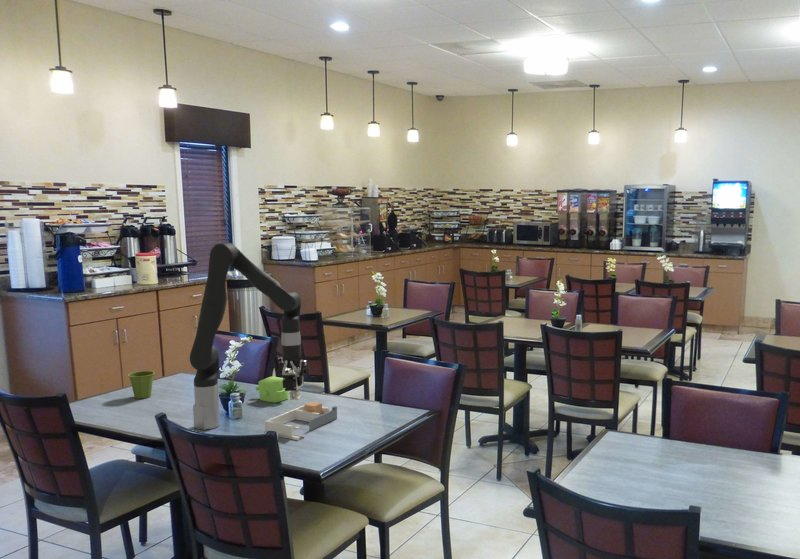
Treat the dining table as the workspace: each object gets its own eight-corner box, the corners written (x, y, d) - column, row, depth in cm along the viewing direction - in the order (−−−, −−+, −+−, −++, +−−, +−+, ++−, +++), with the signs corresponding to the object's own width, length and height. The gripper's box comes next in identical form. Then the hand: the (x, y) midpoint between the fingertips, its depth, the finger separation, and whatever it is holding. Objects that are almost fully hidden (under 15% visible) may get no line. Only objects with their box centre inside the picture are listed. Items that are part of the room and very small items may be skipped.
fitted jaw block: (314, 420, 277) (314, 406, 277) (305, 418, 280) (304, 404, 279) (322, 417, 281) (321, 403, 281) (312, 415, 284) (312, 401, 283)
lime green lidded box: (250, 400, 315) (248, 380, 313) (266, 394, 322) (264, 374, 321) (277, 405, 304) (276, 385, 303) (293, 399, 312) (291, 379, 311)
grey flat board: (311, 430, 265) (310, 417, 264) (308, 430, 266) (308, 417, 265) (337, 418, 279) (337, 406, 279) (335, 418, 280) (334, 406, 279)
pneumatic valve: (306, 395, 276) (303, 365, 275) (296, 403, 265) (293, 373, 263) (293, 395, 277) (290, 366, 276) (282, 403, 266) (279, 373, 264)
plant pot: (161, 394, 326) (159, 371, 324) (146, 401, 314) (145, 377, 313) (139, 393, 328) (137, 370, 327) (123, 400, 317) (122, 376, 316)
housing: (298, 440, 258) (297, 427, 257) (265, 433, 266) (264, 421, 266) (339, 421, 280) (338, 409, 279) (307, 415, 288) (306, 403, 288)
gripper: (270, 343, 269) (272, 385, 270) (299, 346, 261) (301, 389, 263) (283, 339, 275) (284, 380, 277) (311, 342, 268) (313, 384, 270)
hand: (292, 384), depth 270 cm, fingers closed on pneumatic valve, 5 cm apart
